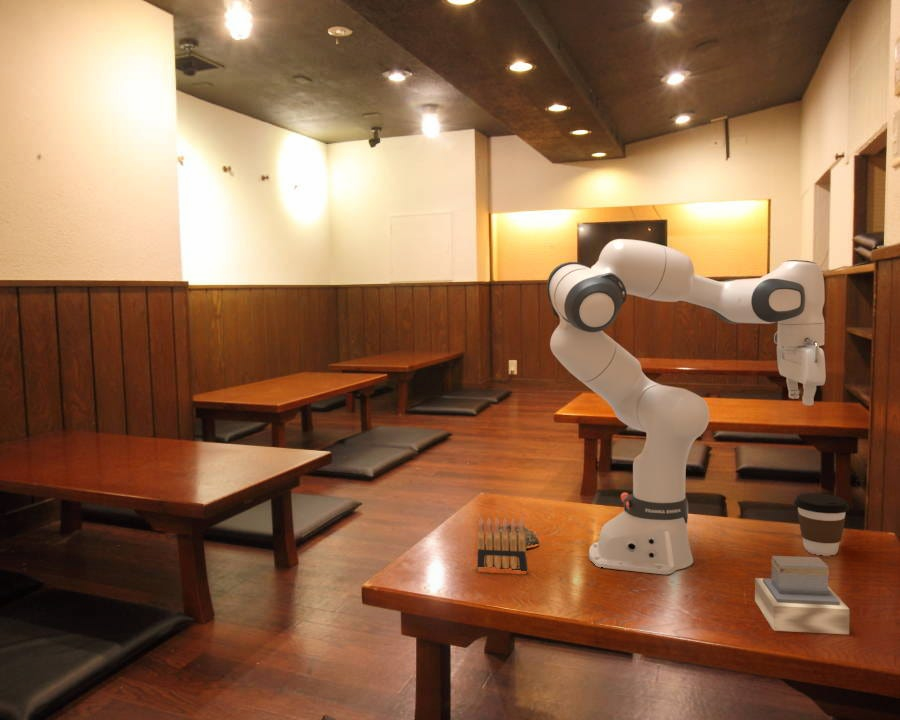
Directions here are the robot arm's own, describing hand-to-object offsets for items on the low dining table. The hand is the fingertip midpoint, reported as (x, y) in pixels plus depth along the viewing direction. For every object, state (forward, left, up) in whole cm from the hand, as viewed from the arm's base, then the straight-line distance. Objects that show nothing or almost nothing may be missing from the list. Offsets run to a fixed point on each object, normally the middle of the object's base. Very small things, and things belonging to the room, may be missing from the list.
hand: (800, 401), depth 145 cm
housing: (-9, -28, -30) cm, 42 cm away
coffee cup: (+6, +6, -35) cm, 36 cm away
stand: (-9, -28, -35) cm, 46 cm away
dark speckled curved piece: (-64, +4, -35) cm, 73 cm away
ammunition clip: (-64, -13, -35) cm, 74 cm away
